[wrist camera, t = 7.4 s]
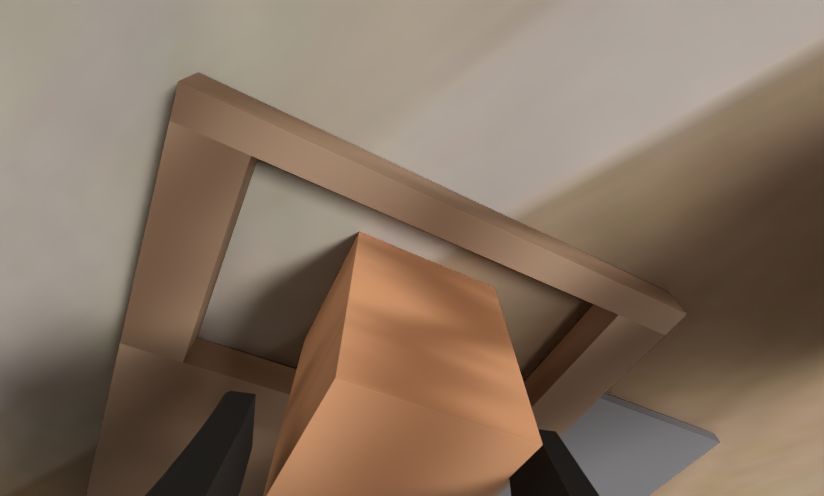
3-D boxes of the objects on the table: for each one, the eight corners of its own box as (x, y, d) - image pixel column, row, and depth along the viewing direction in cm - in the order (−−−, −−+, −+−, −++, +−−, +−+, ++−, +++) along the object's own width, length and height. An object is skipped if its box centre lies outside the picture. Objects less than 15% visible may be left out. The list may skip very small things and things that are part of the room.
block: (494, 287, 15) (542, 445, 10) (425, 379, 17) (437, 547, 12) (359, 230, 14) (335, 377, 9) (305, 338, 16) (260, 506, 11)
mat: (714, 434, 19) (720, 442, 19) (586, 532, 23) (588, 540, 23) (547, 371, 17) (550, 379, 17) (437, 492, 21) (437, 500, 21)
